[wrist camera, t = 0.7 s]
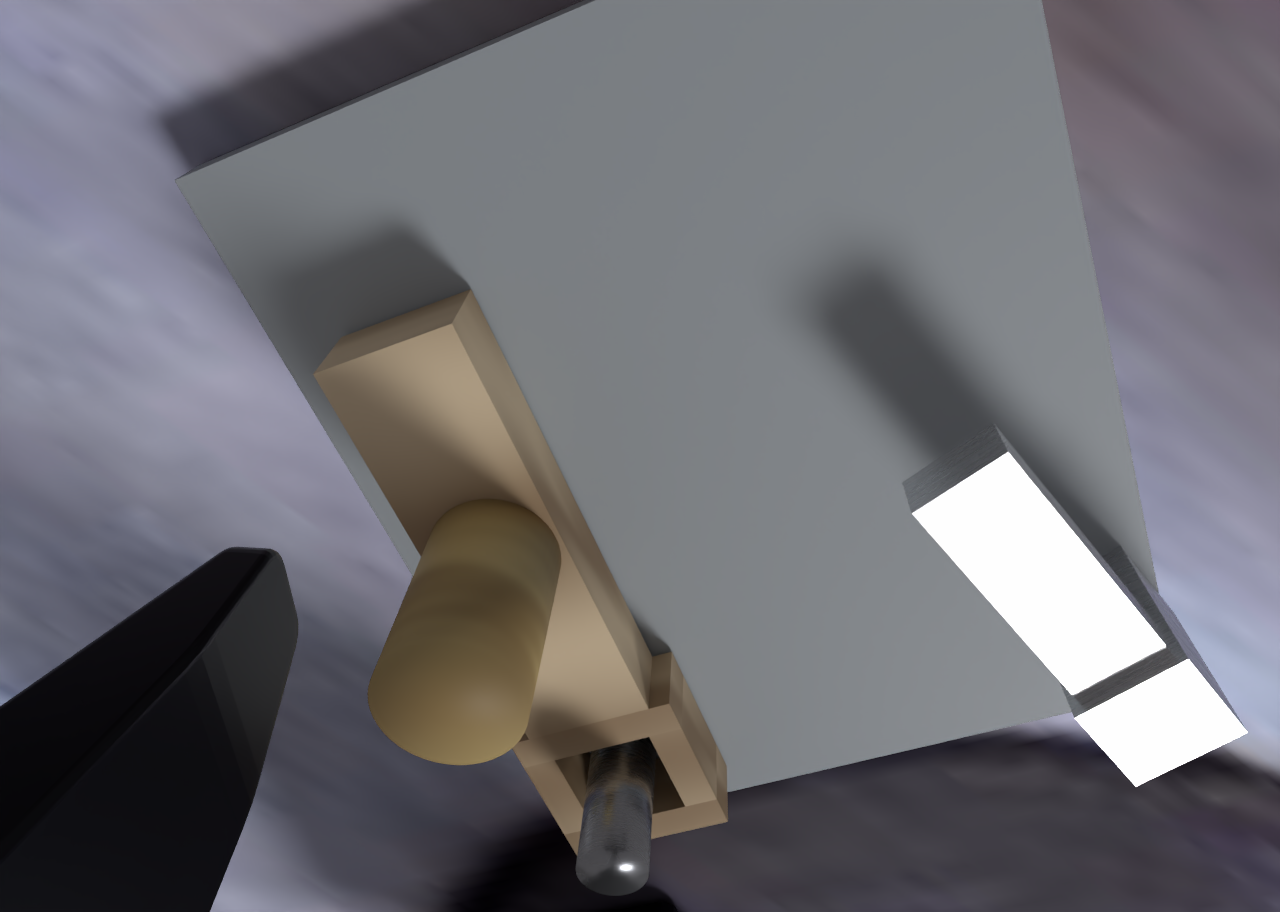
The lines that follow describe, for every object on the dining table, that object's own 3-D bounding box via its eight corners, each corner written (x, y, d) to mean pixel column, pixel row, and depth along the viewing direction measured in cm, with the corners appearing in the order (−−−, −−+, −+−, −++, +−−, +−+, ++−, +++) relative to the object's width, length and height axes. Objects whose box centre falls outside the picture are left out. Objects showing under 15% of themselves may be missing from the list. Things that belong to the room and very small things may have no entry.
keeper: (1079, 663, 25) (1136, 786, 22) (875, 428, 22) (905, 528, 19) (1173, 612, 24) (1248, 732, 21) (974, 361, 21) (1022, 454, 18)
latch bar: (726, 765, 27) (731, 995, 22) (584, 799, 28) (554, 1028, 23) (493, 280, 21) (416, 430, 15) (320, 344, 22) (190, 507, 16)
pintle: (609, 755, 27) (592, 902, 23) (584, 712, 27) (563, 855, 23) (666, 741, 27) (659, 887, 23) (644, 696, 26) (632, 839, 22)
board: (570, 795, 30) (565, 829, 29) (200, 164, 21) (174, 180, 20) (1158, 654, 26) (1176, 687, 25) (989, -174, 18) (1006, -176, 17)
